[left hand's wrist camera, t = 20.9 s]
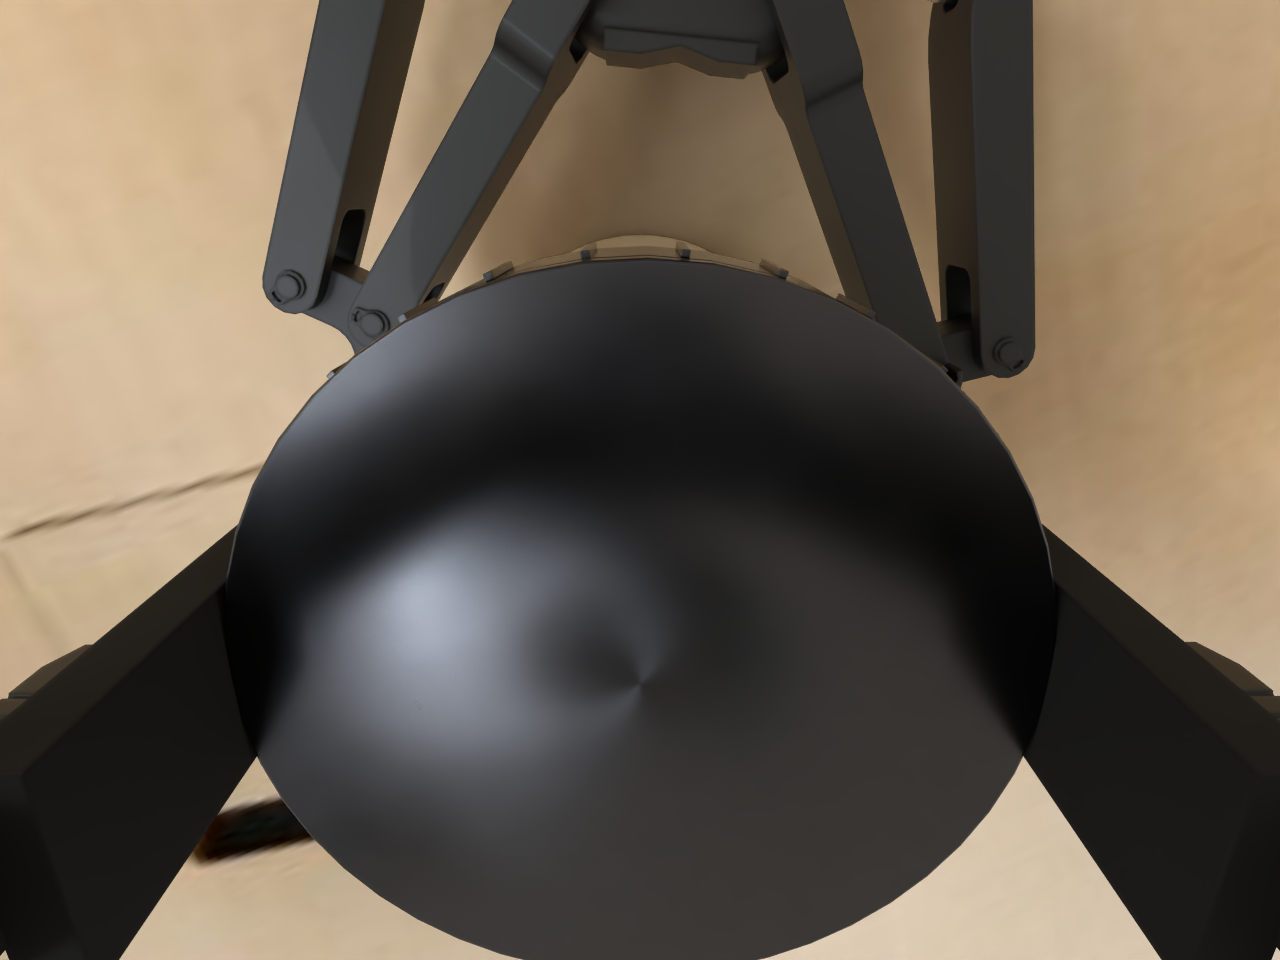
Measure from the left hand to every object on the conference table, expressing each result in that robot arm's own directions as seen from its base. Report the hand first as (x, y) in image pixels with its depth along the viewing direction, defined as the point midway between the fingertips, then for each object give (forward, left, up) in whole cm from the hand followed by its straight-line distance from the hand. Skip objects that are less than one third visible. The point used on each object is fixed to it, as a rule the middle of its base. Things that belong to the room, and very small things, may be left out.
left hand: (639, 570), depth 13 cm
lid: (0, 0, +3) cm, 3 cm away
